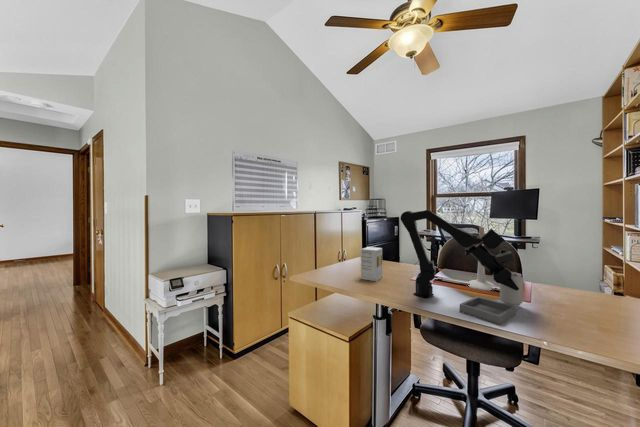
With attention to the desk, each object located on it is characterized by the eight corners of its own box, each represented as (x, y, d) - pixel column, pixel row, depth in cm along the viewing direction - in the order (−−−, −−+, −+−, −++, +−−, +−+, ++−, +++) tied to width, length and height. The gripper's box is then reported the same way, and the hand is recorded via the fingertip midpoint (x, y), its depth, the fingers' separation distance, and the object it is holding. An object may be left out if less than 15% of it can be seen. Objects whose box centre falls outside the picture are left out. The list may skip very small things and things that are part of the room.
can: (526, 306, 104) (527, 276, 103) (504, 305, 105) (505, 275, 105) (516, 299, 111) (517, 271, 111) (496, 298, 113) (497, 270, 112)
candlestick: (461, 282, 140) (462, 225, 139) (486, 282, 140) (487, 224, 138) (474, 290, 127) (475, 227, 126) (502, 290, 127) (503, 227, 125)
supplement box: (376, 281, 144) (376, 250, 143) (360, 279, 149) (360, 248, 148) (382, 277, 152) (382, 247, 151) (367, 275, 157) (367, 246, 156)
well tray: (459, 311, 104) (459, 304, 104) (476, 303, 112) (476, 296, 112) (500, 325, 93) (500, 316, 93) (516, 314, 101) (516, 306, 101)
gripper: (505, 248, 100) (541, 281, 96) (497, 240, 117) (527, 268, 113) (480, 266, 104) (513, 299, 100) (476, 257, 121) (504, 284, 117)
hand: (515, 286), depth 107 cm, fingers closed on can, 7 cm apart
